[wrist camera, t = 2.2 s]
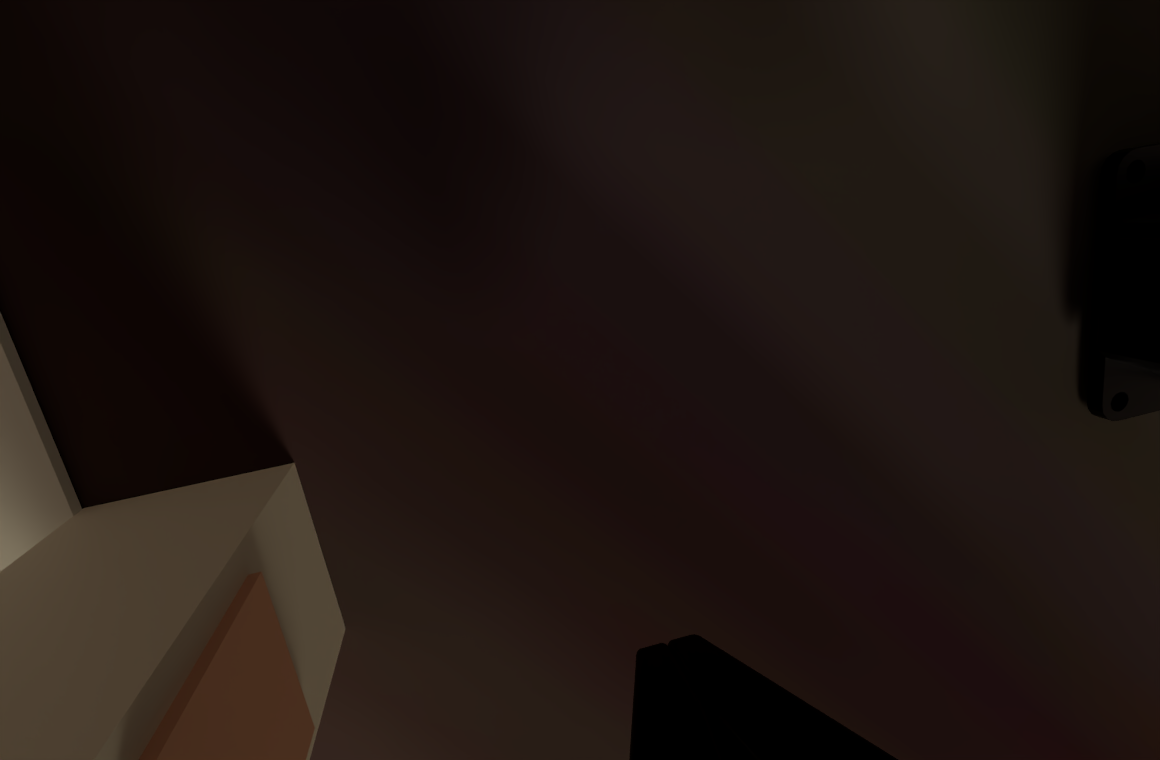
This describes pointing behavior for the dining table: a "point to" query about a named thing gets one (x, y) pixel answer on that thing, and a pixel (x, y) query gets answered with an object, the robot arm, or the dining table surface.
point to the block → (171, 628)
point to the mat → (27, 464)
